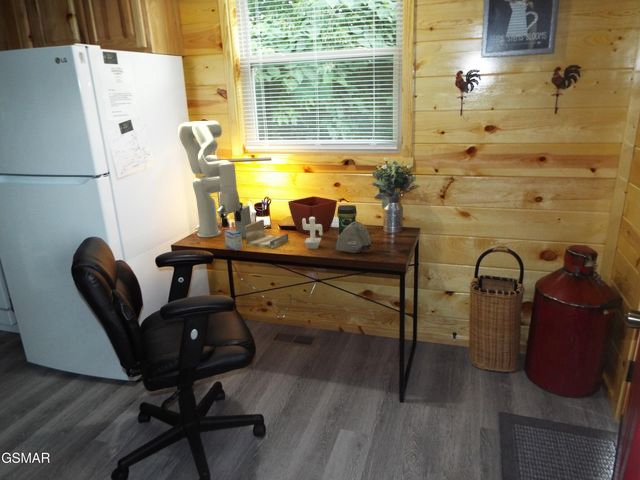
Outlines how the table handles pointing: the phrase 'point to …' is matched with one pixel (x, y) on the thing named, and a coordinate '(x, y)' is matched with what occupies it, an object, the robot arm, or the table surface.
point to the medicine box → (233, 239)
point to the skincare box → (243, 220)
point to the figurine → (312, 233)
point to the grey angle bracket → (262, 236)
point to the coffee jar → (346, 216)
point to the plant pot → (313, 212)
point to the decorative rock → (354, 238)
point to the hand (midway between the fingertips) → (231, 223)
